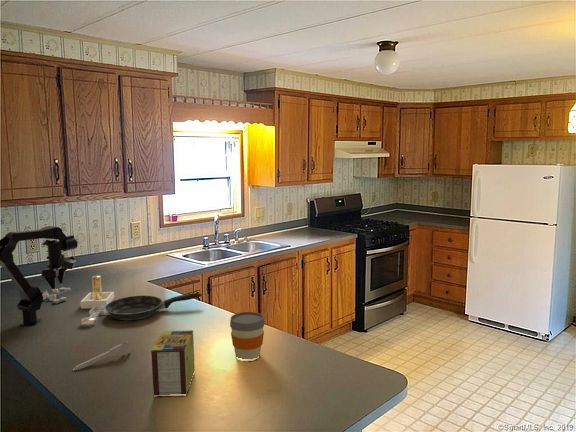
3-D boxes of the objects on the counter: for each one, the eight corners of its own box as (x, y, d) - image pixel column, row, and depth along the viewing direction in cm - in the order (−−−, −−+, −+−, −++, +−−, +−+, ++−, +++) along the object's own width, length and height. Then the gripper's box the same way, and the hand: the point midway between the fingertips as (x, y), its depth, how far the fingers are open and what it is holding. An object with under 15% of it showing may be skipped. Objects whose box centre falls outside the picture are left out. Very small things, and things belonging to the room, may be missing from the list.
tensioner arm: (95, 326, 200) (94, 321, 200) (78, 327, 200) (78, 321, 199) (108, 309, 221) (108, 304, 221) (93, 310, 221) (93, 305, 220)
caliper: (129, 354, 174) (128, 338, 173) (130, 355, 173) (129, 339, 172) (72, 371, 161) (70, 353, 160) (73, 372, 160) (71, 354, 159)
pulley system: (32, 308, 226) (66, 303, 231) (30, 299, 226) (64, 294, 231) (41, 294, 252) (71, 290, 257) (40, 286, 252) (70, 281, 256)
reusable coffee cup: (233, 366, 163) (232, 325, 161) (228, 351, 175) (227, 313, 173) (268, 361, 166) (267, 321, 164) (261, 347, 178) (260, 310, 176)
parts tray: (106, 307, 225) (106, 300, 224) (80, 308, 223) (80, 301, 223) (114, 298, 238) (113, 291, 238) (90, 299, 237) (89, 292, 237)
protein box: (195, 373, 158) (193, 329, 156) (186, 397, 143) (185, 349, 141) (164, 373, 158) (162, 330, 156) (152, 397, 143) (150, 350, 140)
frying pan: (103, 326, 200) (102, 311, 200) (108, 308, 224) (107, 294, 223) (205, 316, 213) (204, 302, 212) (199, 299, 237) (199, 286, 236)
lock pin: (102, 302, 230) (101, 276, 228) (94, 303, 228) (92, 277, 226) (101, 300, 234) (100, 274, 232) (93, 301, 232) (91, 276, 230)
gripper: (65, 257, 205) (68, 291, 208) (79, 248, 224) (82, 279, 226) (39, 258, 204) (42, 292, 206) (55, 249, 222) (58, 280, 225)
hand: (57, 286), depth 216 cm, fingers open, 9 cm apart
